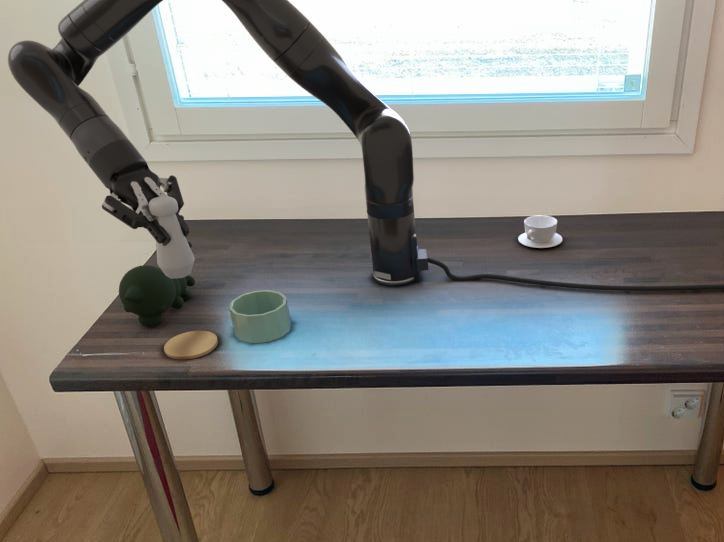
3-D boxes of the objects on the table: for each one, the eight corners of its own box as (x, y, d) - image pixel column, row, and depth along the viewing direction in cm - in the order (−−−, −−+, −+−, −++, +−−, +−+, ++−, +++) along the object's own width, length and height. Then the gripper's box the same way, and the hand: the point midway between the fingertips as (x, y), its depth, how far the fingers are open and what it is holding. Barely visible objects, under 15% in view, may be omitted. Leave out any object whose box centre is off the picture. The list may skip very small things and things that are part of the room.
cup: (292, 314, 140) (288, 288, 137) (288, 340, 132) (283, 313, 129) (239, 318, 139) (233, 292, 136) (232, 345, 131) (225, 318, 128)
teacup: (533, 229, 173) (533, 210, 171) (570, 238, 168) (571, 218, 166) (509, 243, 167) (509, 223, 164) (547, 253, 162) (548, 233, 159)
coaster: (221, 331, 135) (221, 328, 135) (213, 357, 127) (212, 354, 127) (170, 335, 134) (169, 332, 134) (159, 361, 126) (158, 358, 126)
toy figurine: (168, 289, 154) (110, 341, 131) (148, 199, 145) (82, 238, 123) (213, 289, 153) (162, 341, 131) (195, 199, 145) (138, 238, 122)
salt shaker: (196, 264, 127) (180, 190, 120) (198, 277, 123) (182, 201, 116) (160, 269, 125) (142, 195, 119) (160, 283, 121) (141, 206, 114)
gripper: (75, 149, 111) (148, 241, 112) (153, 128, 122) (219, 213, 123) (63, 178, 116) (133, 266, 117) (139, 156, 127) (202, 237, 128)
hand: (176, 238), depth 120 cm, fingers closed on salt shaker, 3 cm apart
